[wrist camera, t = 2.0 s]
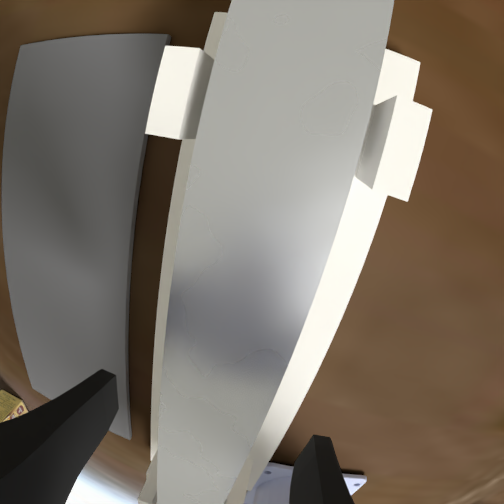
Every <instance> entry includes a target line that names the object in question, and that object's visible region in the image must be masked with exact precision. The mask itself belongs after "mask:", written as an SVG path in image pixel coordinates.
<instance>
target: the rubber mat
mask: <svg viewBox="0 0 504 504" xmlns="http://www.w3.org/2000/svg"><path fill="white" fill-rule="evenodd" d="M170 40H171V36H170V35H168V34H108V35H93V36H81V37H71V38H63V39H55V40H48V41H42V42H36V43H30V44H25V45H21V46H20V50H19V54H18V58H17V62H16V67H15V71H14V76H13V81H12V86H11V92H10V98H9V104H8V110H7V118H6V126H5V135H4V146H3V161H2V229H3V244H4V255H5V265H6V273H7V280H8V287H9V294H10V300H11V306H12V311H13V316H14V321H15V326H16V330H17V335H18V339H19V343H20V347H21V351H22V355H23V359H24V362H25V366H26V369H27V373H28V376H29V379H30V382H31V385H32V388H33V389H35V390H36V391H38V392H39V393H41V394H43V395H44V396H46V397H47V398H49V399H51V400H53V399H55V398H56V397H58V396H60V395H61V394H63V393H65V392H66V391H68V390H70V389H71V388H73V387H74V386H76V385H77V384H79V383H81V382H82V381H84V380H85V379H87V378H88V377H90V376H91V375H93V374H94V373H96V372H97V371H98V370H100V369H104V370H106V371H108V372H111V373H113V374H115V375H116V378H117V392H118V404H119V410H118V412H117V414H116V416H115V418H114V420H113V422H112V424H111V426H110V428H109V431H111V432H113V433H115V434H117V435H120V436H122V437H124V438H126V439H129V440H130V439H131V437H132V433H131V419H130V400H129V367H128V335H129V300H130V281H131V266H132V253H133V242H134V232H135V222H136V213H137V205H138V197H139V190H140V183H141V176H142V169H143V163H144V157H145V151H146V145H147V140H148V134H145V131H146V126H147V121H148V116H149V111H150V106H151V101H152V97H153V92H154V88H155V84H156V80H157V75H158V71H159V67H160V64H161V60H162V56H163V52H164V49H165V46H169V44H170Z"/></svg>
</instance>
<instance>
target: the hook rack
mask: <svg viewBox="0 0 504 504" xmlns="http://www.w3.org/2000/svg"><path fill="white" fill-rule="evenodd" d="M227 14H228V13H224V12H214V16H213V19H212V22H211V26H210V29H209V32H208V36H207V39H206V43H205V47H204V50H202V49H200V48H192V47H179V46H165V49H164V52H163V56H162V60H161V64H160V67H159V71H158V75H157V80H156V84H155V88H154V92H153V97H152V101H151V106H150V111H149V116H148V121H147V126H146V131H145V134H150V135H156V136H162V137H168V138H173V139H182V144H181V149H180V154H179V159H178V164H177V170H176V175H175V181H174V186H173V192H172V198H171V204H170V211H169V217H168V224H167V231H166V238H165V245H164V253H163V260H162V269H161V277H160V286H159V296H158V306H157V317H156V329H155V342H154V356H153V374H152V398H151V461H152V462H151V464H150V466H149V468H148V470H147V472H146V482H145V485H144V487H143V489H142V491H141V493H140V495H139V497H138V504H156V502H157V454H158V426H159V406H160V390H161V377H162V364H163V353H164V342H165V332H166V322H167V313H168V305H169V296H170V288H171V281H172V273H173V266H174V259H175V252H176V245H177V239H178V232H179V226H180V220H181V214H182V208H183V202H184V197H185V191H186V186H187V180H188V175H189V170H190V165H191V160H192V155H193V150H194V145H195V140H196V135H197V131H198V126H199V122H200V117H201V113H202V109H203V104H204V100H205V96H206V92H207V88H208V84H209V80H210V76H211V72H212V68H213V64H214V60H215V56H216V53H217V49H218V45H219V42H220V38H221V35H222V31H223V28H224V24H225V21H226V17H227ZM419 67H420V62H418V61H416V60H413V59H411V58H408V57H406V56H404V55H401V54H398V53H396V52H393V51H391V50H388V49H385V53H384V58H383V63H382V67H381V72H380V77H379V81H378V85H377V90H376V94H375V98H374V103H373V107H372V111H371V115H370V119H369V123H368V127H367V130H366V134H365V138H364V142H363V146H362V149H361V153H360V157H359V160H358V164H357V167H356V171H355V174H354V178H353V181H352V185H351V188H350V191H349V195H348V198H347V201H346V205H345V208H344V211H343V214H342V217H341V221H340V224H339V227H338V230H337V233H336V236H335V239H334V242H333V245H332V248H331V251H330V254H329V257H328V260H327V263H326V266H325V269H324V272H323V275H322V277H321V280H320V283H319V286H318V289H317V291H316V294H315V297H314V300H313V302H312V305H311V308H310V310H309V313H308V316H307V318H306V321H305V324H304V326H303V329H302V332H301V334H300V337H299V339H298V342H297V344H296V347H295V349H294V352H293V354H292V357H291V359H290V362H289V364H288V367H287V369H286V372H285V374H284V376H283V379H282V381H281V383H280V386H279V388H278V390H277V393H276V395H275V397H274V400H273V402H272V404H271V407H270V409H269V411H268V413H267V416H266V418H265V420H264V422H263V425H262V427H261V429H260V431H259V433H258V435H257V438H256V440H255V442H254V444H253V446H252V448H251V450H250V452H249V455H248V457H247V459H246V461H245V463H244V465H243V467H242V469H241V471H240V473H239V475H238V477H237V479H236V481H235V483H234V485H233V487H232V489H231V491H230V493H229V495H228V497H227V498H226V500H225V502H224V504H244V501H245V496H246V492H247V490H248V491H251V490H252V488H253V487H254V485H255V484H256V482H257V480H258V479H259V477H260V476H261V474H262V472H263V471H264V469H265V467H266V466H267V464H268V462H269V461H270V459H271V457H272V456H273V454H274V452H275V450H276V449H277V447H278V445H279V444H280V442H281V440H282V438H283V436H284V435H285V433H286V431H287V429H288V427H289V426H290V424H291V422H292V420H293V418H294V416H295V415H296V413H297V411H298V409H299V407H300V405H301V403H302V401H303V399H304V397H305V395H306V393H307V391H308V389H309V387H310V385H311V383H312V381H313V379H314V377H315V375H316V373H317V371H318V369H319V367H320V365H321V363H322V361H323V359H324V357H325V354H326V352H327V350H328V348H329V346H330V344H331V341H332V339H333V337H334V335H335V332H336V330H337V328H338V326H339V323H340V321H341V319H342V316H343V314H344V312H345V309H346V307H347V304H348V302H349V300H350V297H351V295H352V292H353V290H354V287H355V285H356V282H357V280H358V277H359V275H360V272H361V269H362V267H363V264H364V261H365V259H366V256H367V253H368V251H369V248H370V245H371V242H372V239H373V237H374V234H375V231H376V228H377V225H378V222H379V219H380V216H381V213H382V210H383V207H384V204H385V201H386V198H387V195H390V196H393V197H395V198H398V199H401V200H404V201H407V202H408V198H409V195H410V192H411V189H412V186H413V182H414V179H415V176H416V172H417V169H418V165H419V162H420V158H421V154H422V151H423V147H424V143H425V139H426V135H427V131H428V127H429V123H430V119H431V114H432V109H429V108H427V107H425V106H423V105H420V104H418V103H416V102H413V97H414V92H415V87H416V83H417V78H418V72H419Z"/></svg>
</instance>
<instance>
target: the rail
mask: <svg viewBox="0 0 504 504" xmlns="http://www.w3.org/2000/svg"><path fill="white" fill-rule="evenodd" d="M393 4H394V0H232V1H231V4H230V7H229V11H228V14H227V17H226V21H225V24H224V28H223V31H222V35H221V38H220V42H219V45H218V49H217V53H216V56H215V60H214V64H213V68H212V72H211V76H210V80H209V84H208V88H207V92H206V96H205V100H204V104H203V109H202V113H201V117H200V122H199V126H198V131H197V135H196V140H195V145H194V150H193V155H192V160H191V165H190V170H189V175H188V180H187V186H186V191H185V197H184V202H183V208H182V214H181V220H180V226H179V232H178V239H177V245H176V252H175V259H174V266H173V273H172V281H171V288H170V296H169V305H168V313H167V322H166V332H165V342H164V353H163V364H162V377H161V390H160V406H159V426H158V454H157V504H224V502H225V500H226V498H227V497H228V495H229V493H230V491H231V489H232V487H233V485H234V483H235V481H236V479H237V477H238V475H239V473H240V471H241V469H242V467H243V465H244V463H245V461H246V459H247V457H248V455H249V452H250V450H251V448H252V446H253V444H254V442H255V440H256V438H257V435H258V433H259V431H260V429H261V427H262V425H263V422H264V420H265V418H266V416H267V413H268V411H269V409H270V407H271V404H272V402H273V400H274V397H275V395H276V393H277V390H278V388H279V386H280V383H281V381H282V379H283V376H284V374H285V372H286V369H287V367H288V364H289V362H290V359H291V357H292V354H293V352H294V349H295V347H296V344H297V342H298V339H299V337H300V334H301V332H302V329H303V326H304V324H305V321H306V318H307V316H308V313H309V310H310V308H311V305H312V302H313V300H314V297H315V294H316V291H317V289H318V286H319V283H320V280H321V277H322V275H323V272H324V269H325V266H326V263H327V260H328V257H329V254H330V251H331V248H332V245H333V242H334V239H335V236H336V233H337V230H338V227H339V224H340V221H341V217H342V214H343V211H344V208H345V205H346V201H347V198H348V195H349V191H350V188H351V185H352V181H353V178H354V174H355V171H356V167H357V164H358V160H359V157H360V153H361V149H362V146H363V142H364V138H365V134H366V130H367V127H368V123H369V119H370V115H371V111H372V107H373V103H374V98H375V94H376V90H377V85H378V81H379V77H380V72H381V67H382V63H383V58H384V53H385V48H386V43H387V38H388V33H389V27H390V22H391V16H392V10H393Z"/></svg>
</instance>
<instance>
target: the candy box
mask: <svg viewBox="0 0 504 504" xmlns="http://www.w3.org/2000/svg"><path fill="white" fill-rule="evenodd" d="M27 412H28V410H27V408H26V405H25V403H24V402H23V400H21V399H19V398H17V397H15V396H13V395H11V394H10V393H8V392H6V391H4V390H1V391H0V423H1V422H4V421H7V420H10V419H13V418H15V417H18V416H20V415H23V414H25V413H27Z"/></svg>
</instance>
